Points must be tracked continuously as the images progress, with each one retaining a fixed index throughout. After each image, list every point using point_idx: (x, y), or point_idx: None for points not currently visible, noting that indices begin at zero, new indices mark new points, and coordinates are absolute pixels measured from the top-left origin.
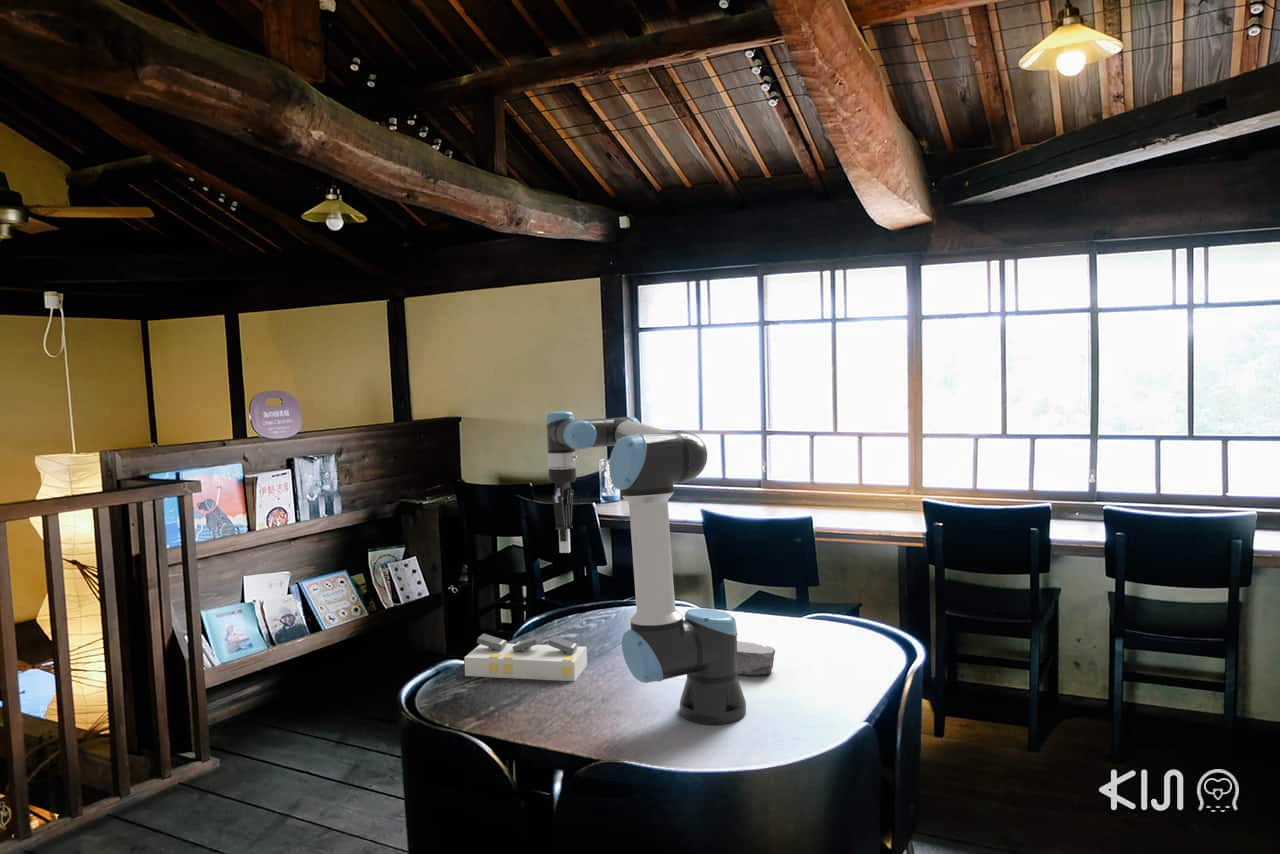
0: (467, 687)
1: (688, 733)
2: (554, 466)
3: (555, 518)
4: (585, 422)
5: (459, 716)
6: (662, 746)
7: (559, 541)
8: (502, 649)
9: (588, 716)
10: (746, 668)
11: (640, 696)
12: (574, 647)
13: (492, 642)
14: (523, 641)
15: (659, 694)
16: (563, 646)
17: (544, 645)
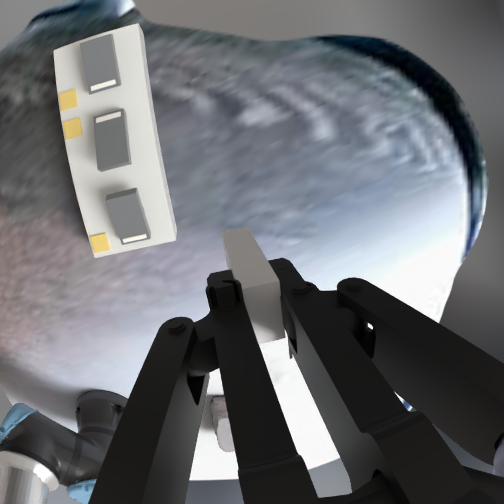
0: (27, 96)
1: (57, 403)
2: None
3: (135, 387)
4: None
5: None
6: (25, 390)
7: (229, 255)
8: None
9: (25, 313)
10: (215, 423)
11: (101, 346)
12: (130, 241)
13: (85, 74)
14: (112, 129)
15: (118, 363)
16: (115, 226)
17: (154, 155)
